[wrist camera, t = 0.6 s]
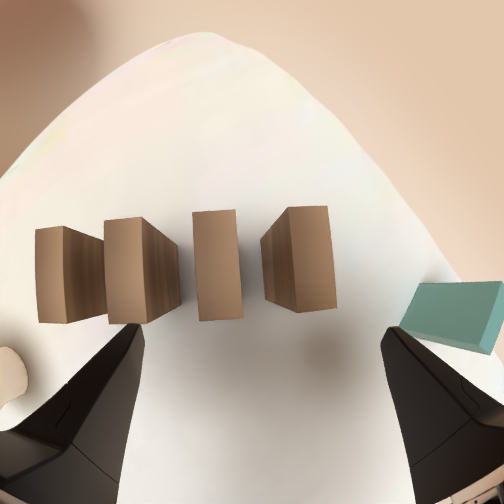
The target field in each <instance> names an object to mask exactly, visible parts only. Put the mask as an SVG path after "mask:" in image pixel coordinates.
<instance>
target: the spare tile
mask: <svg viewBox="0 0 504 504" xmlns="http://www.w3.org/2000/svg"><path fill="white" fill-rule="evenodd" d="M503 320H504V284H503V282H502V281H490V282H461V283H420V284H419V286H418V288H417V291H416V293H415V295H414V297H413V299H412V301H411V303H410V306H409V308H408V310H407V312H406V314H405V316H404V318H403V320H402V322H401V324H400V325H399V327H400V328H401V329H403V330H404V331H405V332H407V333H408V334H409V335H411V336H412V337H416V338H420V339H424V340H428V341H431V342H435V343H440V344H444V345H448V346H452V347H456V348H460V349H464V350H469V351H473V352H477V353H482V354H486V355H490V354H491V352H492V350H493V347H494V345H495V342H496V339H497V337H498V334H499V331H500V329H501V326H502V323H503Z"/></svg>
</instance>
